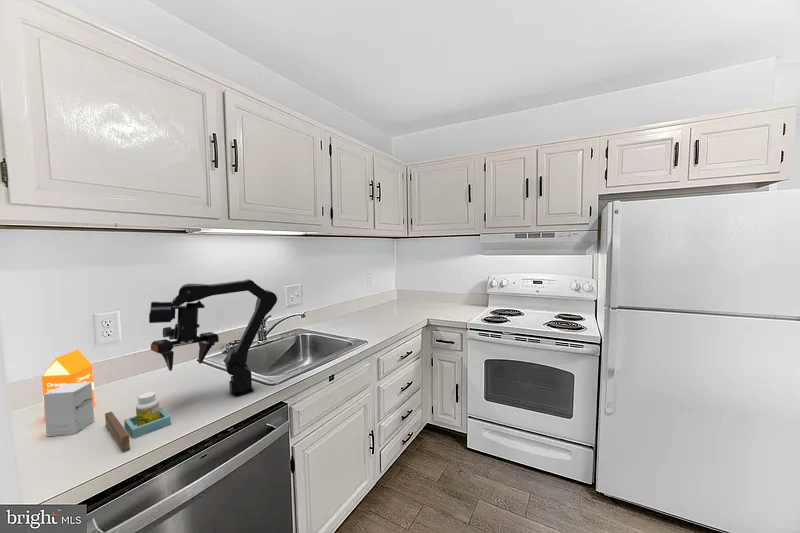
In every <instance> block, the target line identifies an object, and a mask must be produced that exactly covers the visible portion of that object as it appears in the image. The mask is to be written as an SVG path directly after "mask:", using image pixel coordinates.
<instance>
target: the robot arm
mask: <svg viewBox="0 0 800 533" xmlns="http://www.w3.org/2000/svg"><path fill="white" fill-rule="evenodd" d="M240 292H241V293H242V292H249V293H251V294H252V295H253V296H255V297H256V302H255V307H254V311H253V314H252V315H251V318H250V320H249V322H248V323H247V326H246V327H245V330H244V332H243V333H242V336H241V338H240V339H239V342H238V344H237V345H236V347H235V348H234V349H229V350H228V353H227V355H226V356H225V358H224V366H225V369H226V372H227V374H228V375H230V380H229V382H228V383H229V393H231V394H232V395H233V396H234V397H240V396H243V395H247V394H249V393H252V392H254V391H255V390H254V389H253V385H252V384H253V383H252V371H251V369H250V367H249V365H248V364H247V360H248V354H249V350H250V349H251V346H252V344H253V342H254V340H255V338H256V336H257V334H258V333H259V331H260V330H259V329H260V328H261V326H262V324H263V322H264V320H265V318H266V316H268V314H269V313H270V312H271V311H272V309H273V308H274V307H275V305H276V304H277V302H278V297H277V294H275V293H274V292H272V291H271V290H266V289H264V288H262V287H261V286H260V285H258V284H257V283H256V282H255V281H253V280H251V279H248V278H247V279H243V280H237V281H230V282H219V283H211V284H205V283H185V284H182V286H181V287H180V288H179V290H178V294H177V295H176V297H174V298H173V299H172V301H151V303H150V308H149V313H148V322H149V324H161V323H171V322H172V321H173V320H175V319H176V310H177V323H175V325H174V328H172V327H171V326H168V327H163V328H162V337H163V338H165V339H158V340H154V341H153V340H152V343H151V344H150V351H152V352H155V353H157V354H159V355H161V356H162V357H163V359H164V361H165V363H166V367H167V368H168V371H170V372H171V371H173V368H174V367H173V366H174V353H175V351H172V350H173V349H174V348H175V347H181V346H186V345H192V344H197V343H198V348H199V350H198V364H202V363H203V361H205V360H204V359H205V358H206V356H207V355H208V352H209V351H210V350H211V348H212V347H213V346H215V344H216V343H219V342H220V340H219V338H220V337H219V335H218V334H217V333H215V332H212V331H209V332H203V333H200V334H199V335H198V328H200V326H201V325H200V323H198V320H199V309H204V308H206V307H205V304H204V303H202V302H201V300H203V299H206V298H209V297H213V296H219V295H225V294H232V293H233V294H234V293H240ZM196 301H197V302H196ZM185 303H186V305H184V304H185ZM167 338H169V340H168V339H167ZM172 340H173V341H172Z"/></svg>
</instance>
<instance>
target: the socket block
mask: <svg viewBox="0 0 800 533" xmlns="http://www.w3.org/2000/svg"><path fill="white" fill-rule="evenodd" d="M159 414H160V419H158V420H155V421H152V422H149V423H146V424H144V425H141V426H138V427H137V415H133V416H130V417H128V418H127V417H126V418H124V420H123V421H124V422H123V424H124V429H125V430H126V432H127V433H128V435H130V436H131V438H132V439H135V438H138V437H141V436H144V435H147V434H149V433H152V432H154V431H157V430H159V429H163V428H164V427H169V426H170V425H172V423H171V416H170V414H168V413H167V412H166V411H165V410H164V409H163V408H162V407H161V406H159Z"/></svg>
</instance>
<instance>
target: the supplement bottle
mask: <svg viewBox="0 0 800 533" xmlns="http://www.w3.org/2000/svg"><path fill="white" fill-rule="evenodd" d="M137 398H138V399H137V401H138V403H137V404H136V406H135V414H136V415H137V425H136V427H138V426H141V425H144V424H146V423H149V422H152V421H155V420H158V419H160V414H159V408H160V402H159V400H158V398H156V392H155V391H149V392H145V393H141V394H140V395H139V396H138V397H137ZM136 415H135V416H136Z"/></svg>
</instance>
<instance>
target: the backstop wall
mask: <svg viewBox="0 0 800 533" xmlns="http://www.w3.org/2000/svg"><path fill="white" fill-rule="evenodd" d="M104 416H105V418H104V419H105V428H106V429H107V430H108V432H109V433H110V435H111V437H112V439H113V440H114V442H115V443H116V444H117V446H118V448H119V450H120V451H121V453H124V452H127V451H130V446H131V444H130V436H129V435H130V434H129V433H128V431H127V430H126V429H125V427H124V426H123V425H122V424H121V422H120V421H119V419H118V418H117V417H116V415H115V414H114V412H113V411H108V412H106V413H104Z"/></svg>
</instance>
